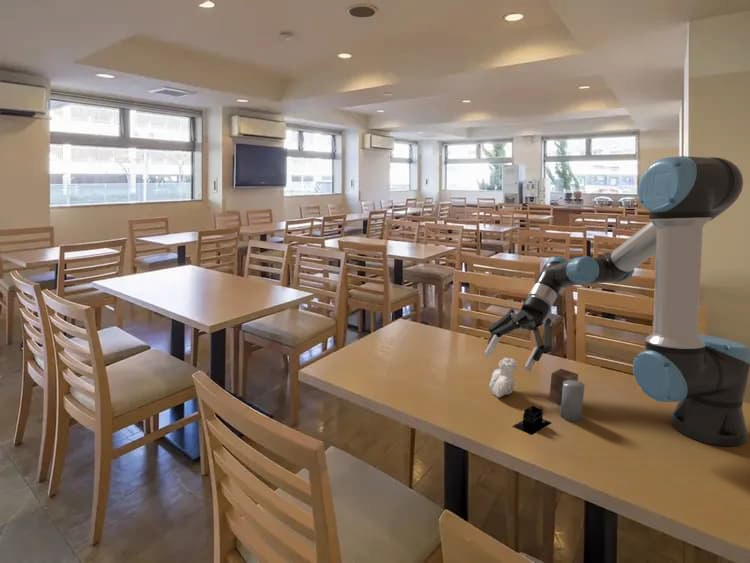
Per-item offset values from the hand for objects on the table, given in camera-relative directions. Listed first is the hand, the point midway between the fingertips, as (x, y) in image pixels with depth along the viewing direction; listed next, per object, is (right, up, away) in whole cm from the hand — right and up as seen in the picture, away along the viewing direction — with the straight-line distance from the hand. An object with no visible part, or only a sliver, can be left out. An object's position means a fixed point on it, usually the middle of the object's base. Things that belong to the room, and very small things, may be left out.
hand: (506, 361), depth 140 cm
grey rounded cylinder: (+12, -12, -15) cm, 23 cm away
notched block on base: (+1, -13, -19) cm, 23 cm away
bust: (-2, -9, -1) cm, 9 cm away
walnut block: (+14, -10, -6) cm, 18 cm away
